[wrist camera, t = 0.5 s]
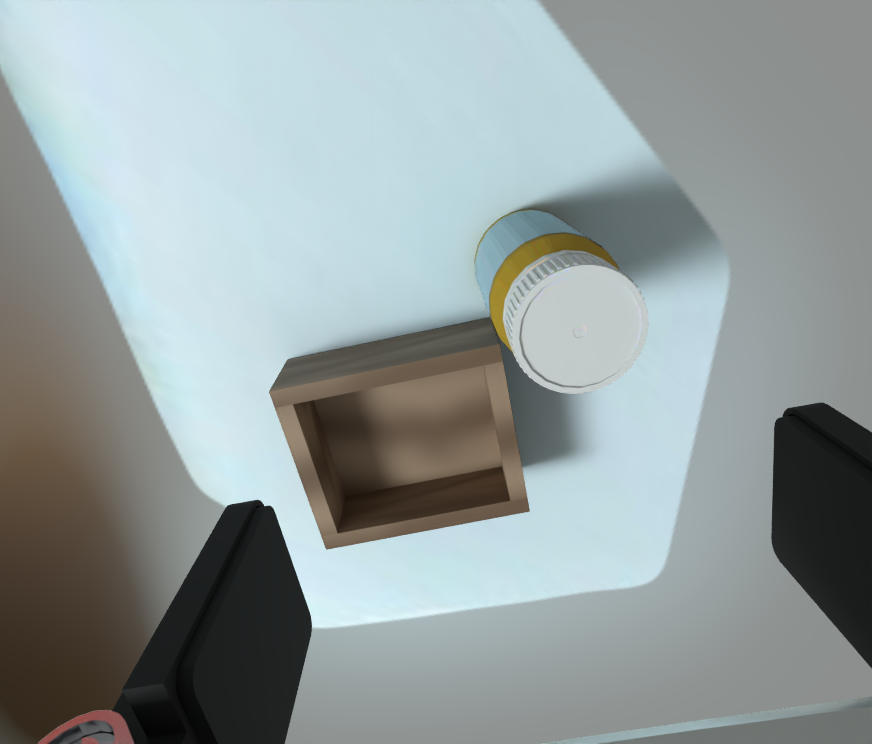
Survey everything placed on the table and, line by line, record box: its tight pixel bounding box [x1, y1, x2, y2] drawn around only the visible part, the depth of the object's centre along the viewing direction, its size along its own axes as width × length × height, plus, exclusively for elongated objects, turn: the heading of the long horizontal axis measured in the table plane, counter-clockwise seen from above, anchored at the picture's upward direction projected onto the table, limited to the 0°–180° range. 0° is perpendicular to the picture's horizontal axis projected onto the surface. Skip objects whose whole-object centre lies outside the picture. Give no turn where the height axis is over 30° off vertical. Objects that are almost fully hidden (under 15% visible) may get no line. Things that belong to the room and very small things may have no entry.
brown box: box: [269, 317, 530, 550], centre depth 41 cm, size 13×15×6 cm
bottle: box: [475, 209, 648, 394], centre depth 32 cm, size 7×7×15 cm
